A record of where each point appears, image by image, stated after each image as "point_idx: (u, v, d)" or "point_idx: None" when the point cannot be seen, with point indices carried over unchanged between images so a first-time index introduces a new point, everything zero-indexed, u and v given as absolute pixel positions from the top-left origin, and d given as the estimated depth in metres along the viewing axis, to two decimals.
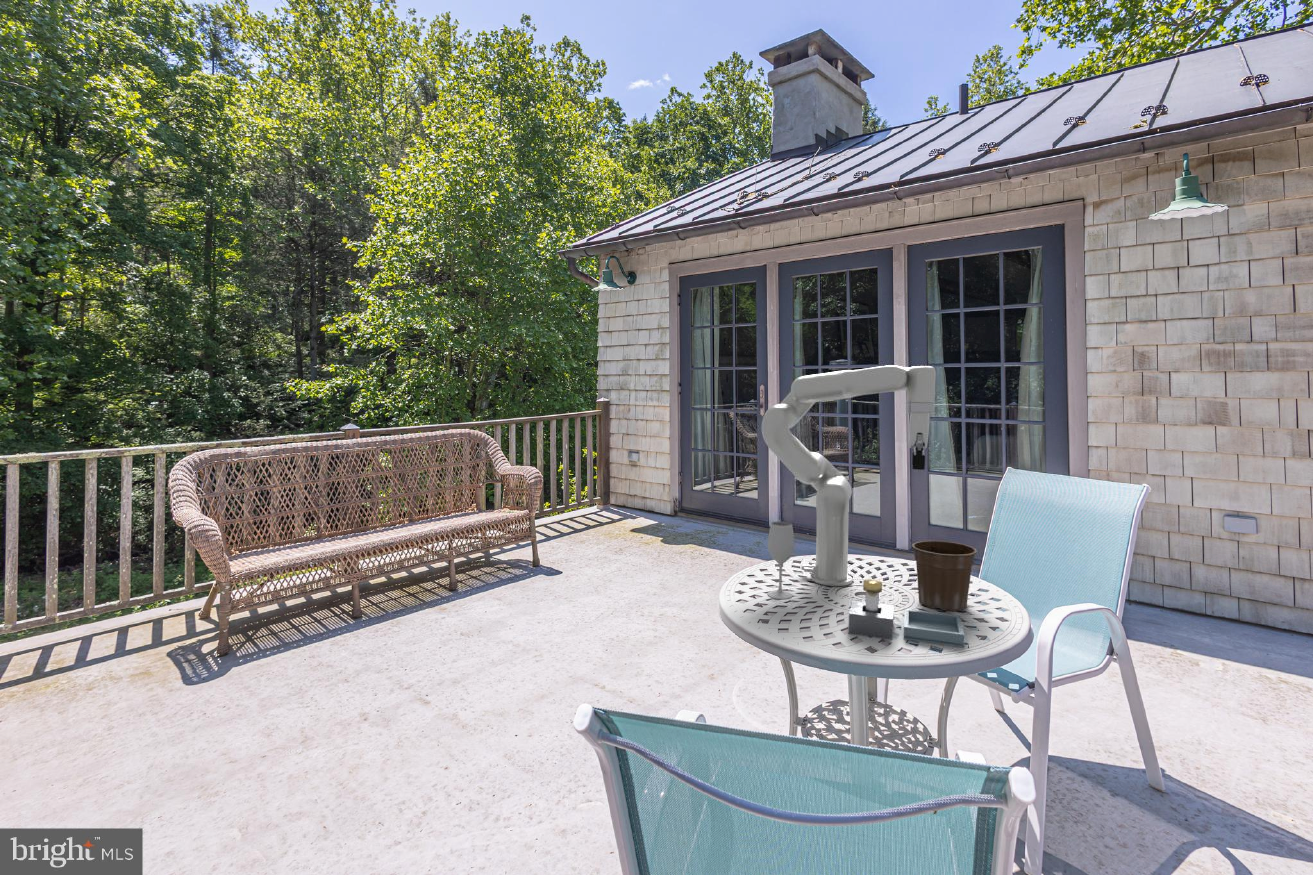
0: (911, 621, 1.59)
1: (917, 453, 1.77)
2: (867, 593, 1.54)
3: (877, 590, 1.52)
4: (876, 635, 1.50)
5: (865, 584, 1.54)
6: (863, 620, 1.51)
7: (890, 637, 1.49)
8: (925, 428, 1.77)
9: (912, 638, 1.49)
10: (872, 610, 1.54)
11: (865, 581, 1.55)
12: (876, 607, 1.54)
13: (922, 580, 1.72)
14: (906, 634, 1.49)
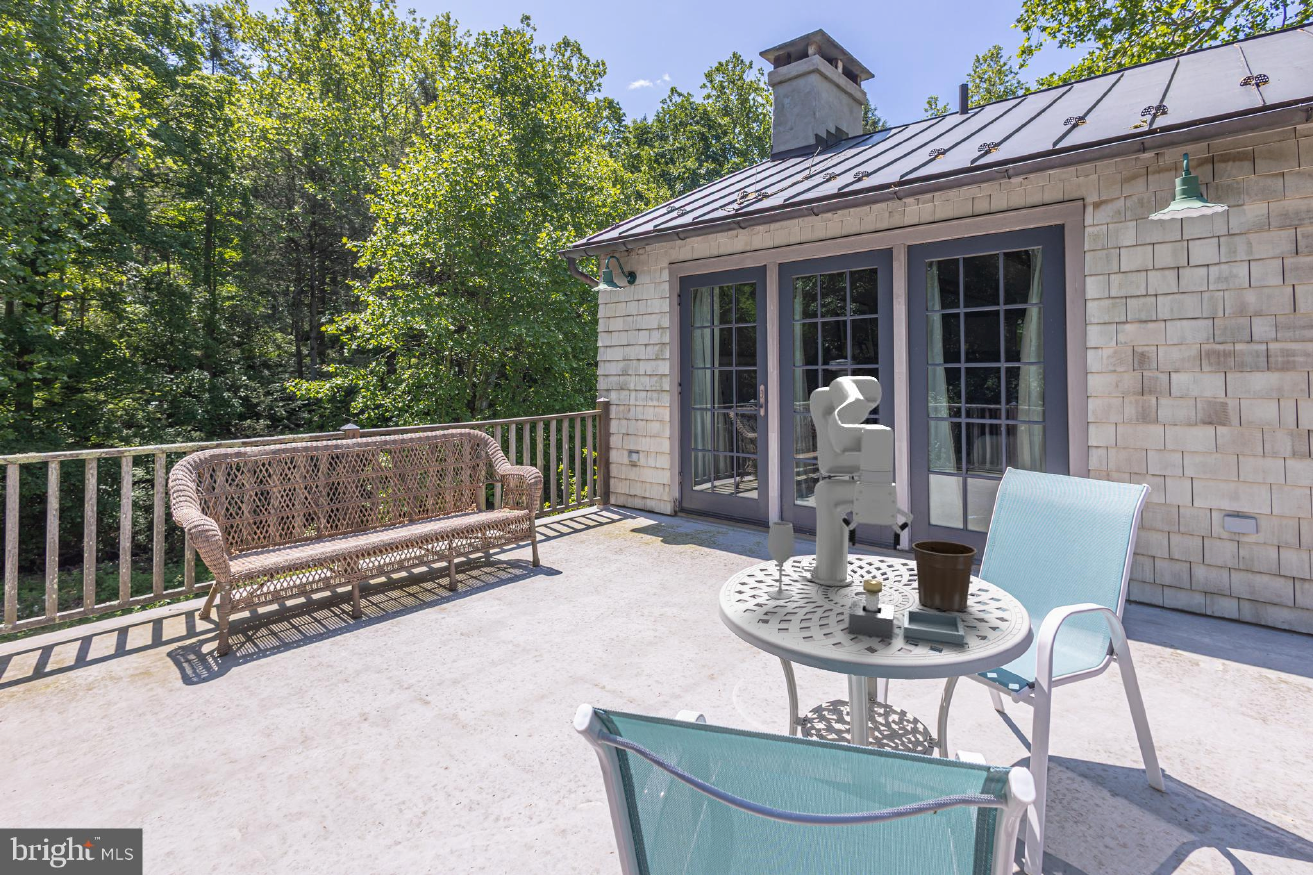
0: (911, 621, 1.59)
1: None
2: (867, 593, 1.54)
3: (877, 590, 1.52)
4: (876, 635, 1.50)
5: (865, 584, 1.54)
6: (863, 620, 1.51)
7: (890, 637, 1.49)
8: None
9: (912, 638, 1.49)
10: (872, 610, 1.54)
11: (865, 581, 1.55)
12: (876, 607, 1.54)
13: (922, 580, 1.72)
14: (906, 634, 1.49)
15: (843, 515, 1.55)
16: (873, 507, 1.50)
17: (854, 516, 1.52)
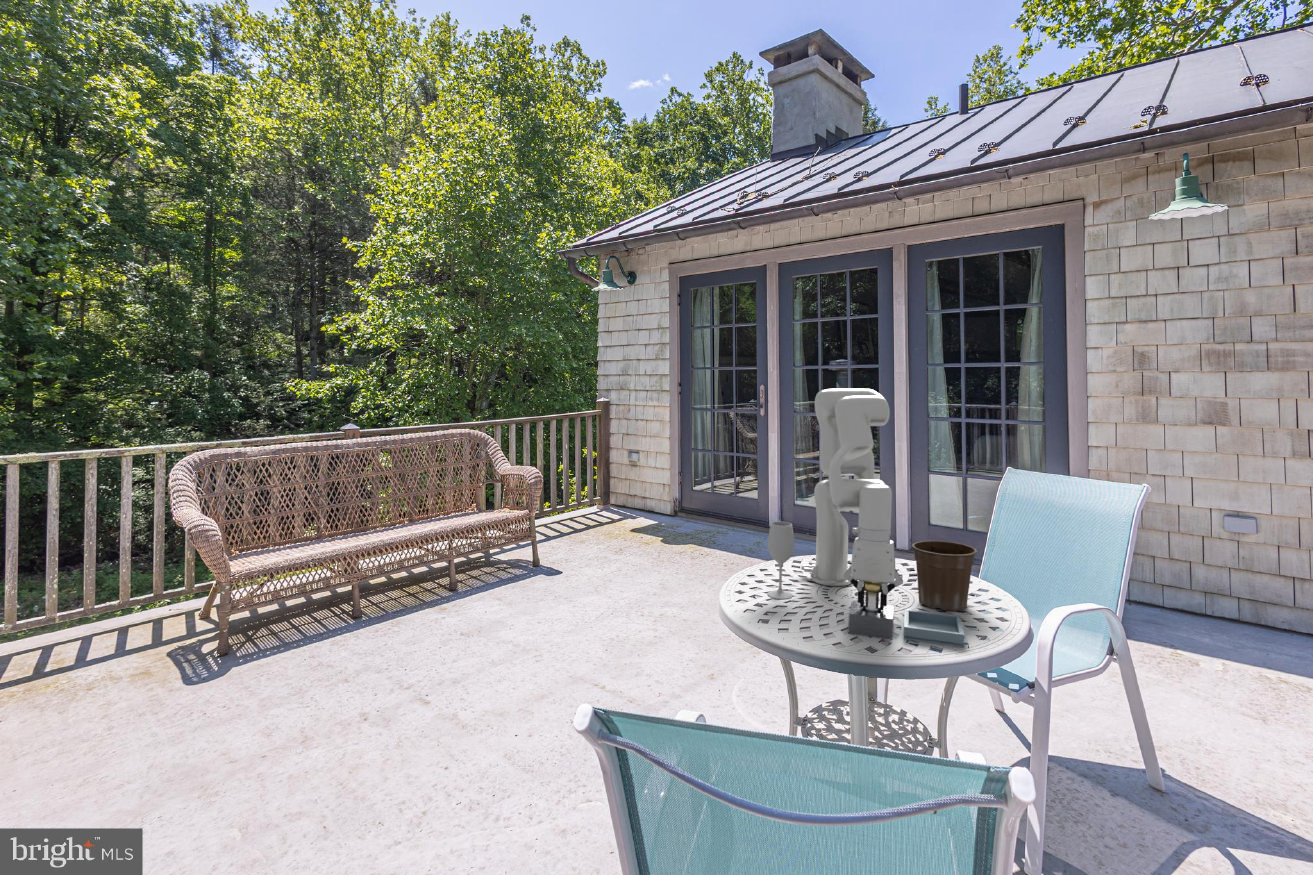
0: (911, 621, 1.59)
1: None
2: (867, 593, 1.54)
3: (877, 590, 1.52)
4: (876, 635, 1.50)
5: (865, 584, 1.54)
6: (863, 620, 1.51)
7: (890, 637, 1.49)
8: None
9: (912, 638, 1.49)
10: (872, 610, 1.54)
11: (865, 581, 1.55)
12: (876, 607, 1.54)
13: (922, 580, 1.72)
14: (906, 634, 1.49)
15: (849, 577, 1.56)
16: (871, 565, 1.51)
17: (852, 573, 1.54)
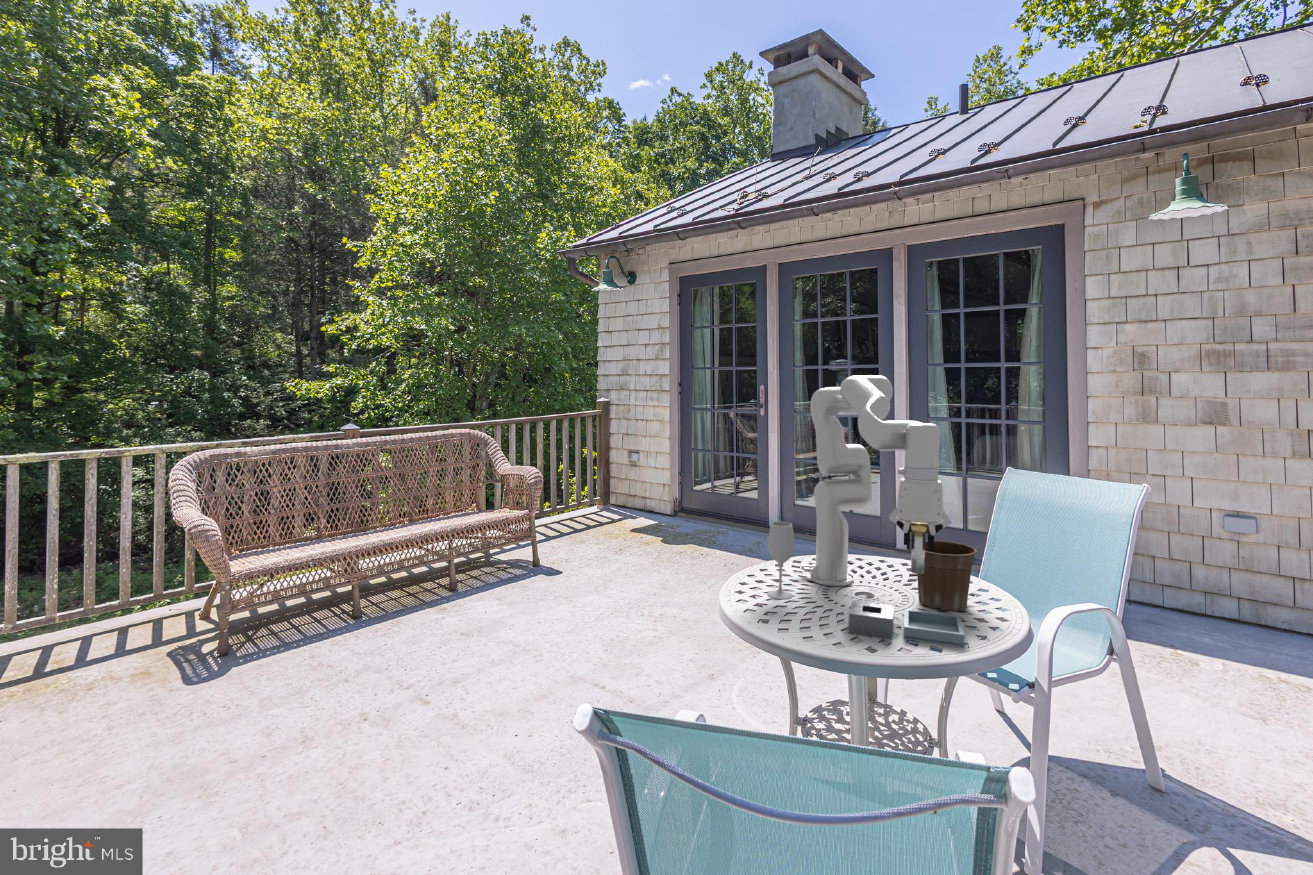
0: (911, 621, 1.59)
1: None
2: (913, 535, 1.51)
3: (924, 531, 1.49)
4: (876, 635, 1.50)
5: (911, 525, 1.51)
6: (863, 620, 1.51)
7: (890, 637, 1.49)
8: None
9: (912, 638, 1.49)
10: (918, 551, 1.50)
11: (911, 523, 1.52)
12: (923, 548, 1.51)
13: (922, 580, 1.72)
14: (906, 634, 1.49)
15: (895, 519, 1.53)
16: (919, 505, 1.49)
17: (898, 513, 1.51)
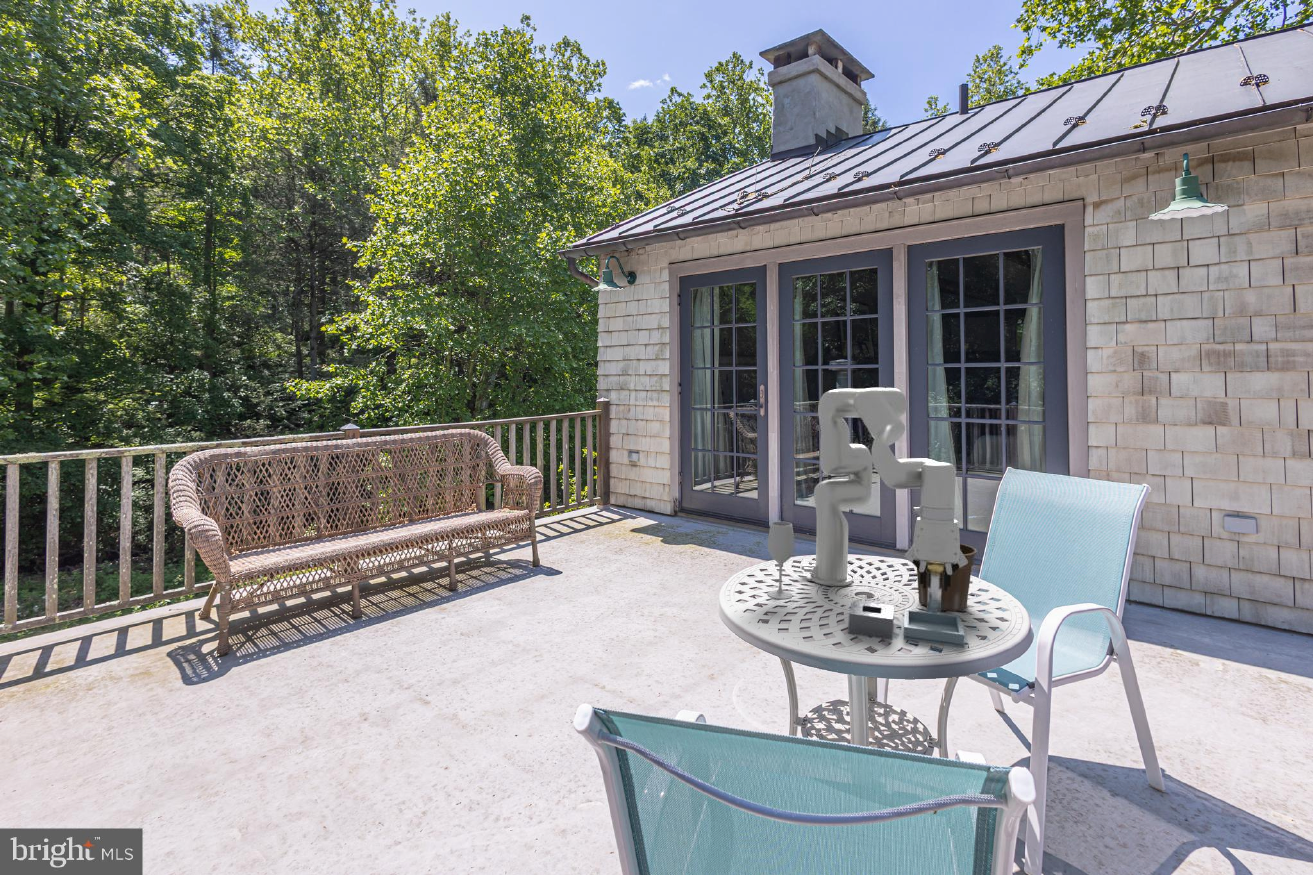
0: (911, 621, 1.59)
1: None
2: (930, 574, 1.51)
3: (941, 570, 1.49)
4: (876, 635, 1.50)
5: (928, 564, 1.51)
6: (863, 620, 1.51)
7: (890, 637, 1.49)
8: None
9: (912, 638, 1.49)
10: (935, 591, 1.50)
11: (928, 562, 1.52)
12: (940, 588, 1.50)
13: None
14: (906, 634, 1.49)
15: (911, 558, 1.53)
16: (935, 544, 1.48)
17: (915, 553, 1.51)
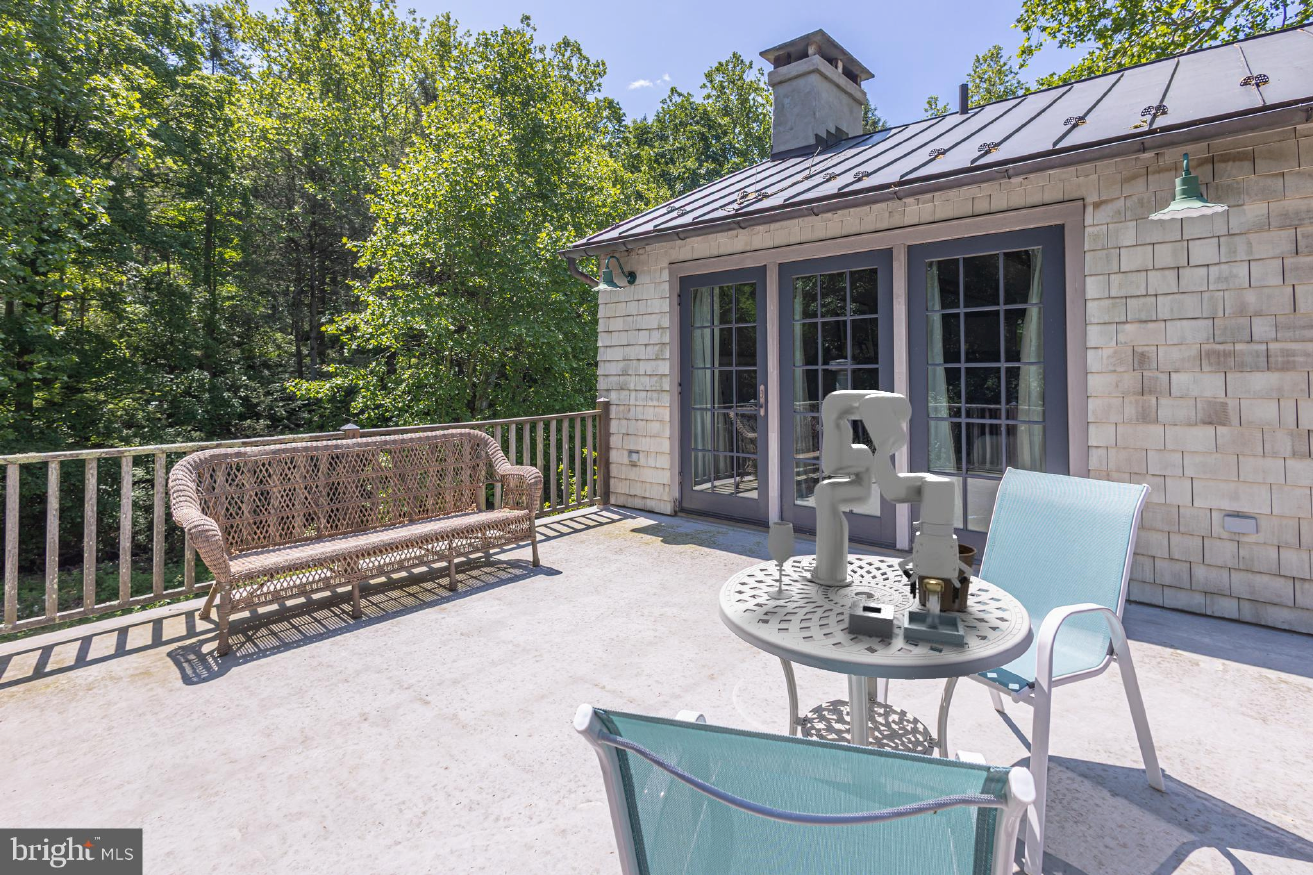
0: (911, 621, 1.59)
1: None
2: (928, 593, 1.52)
3: (939, 590, 1.50)
4: (876, 635, 1.50)
5: (926, 584, 1.51)
6: (863, 620, 1.51)
7: (890, 637, 1.49)
8: None
9: (912, 638, 1.49)
10: (933, 610, 1.51)
11: (926, 581, 1.52)
12: (938, 607, 1.51)
13: (922, 580, 1.72)
14: (906, 634, 1.49)
15: (903, 567, 1.54)
16: (934, 560, 1.49)
17: (914, 568, 1.51)
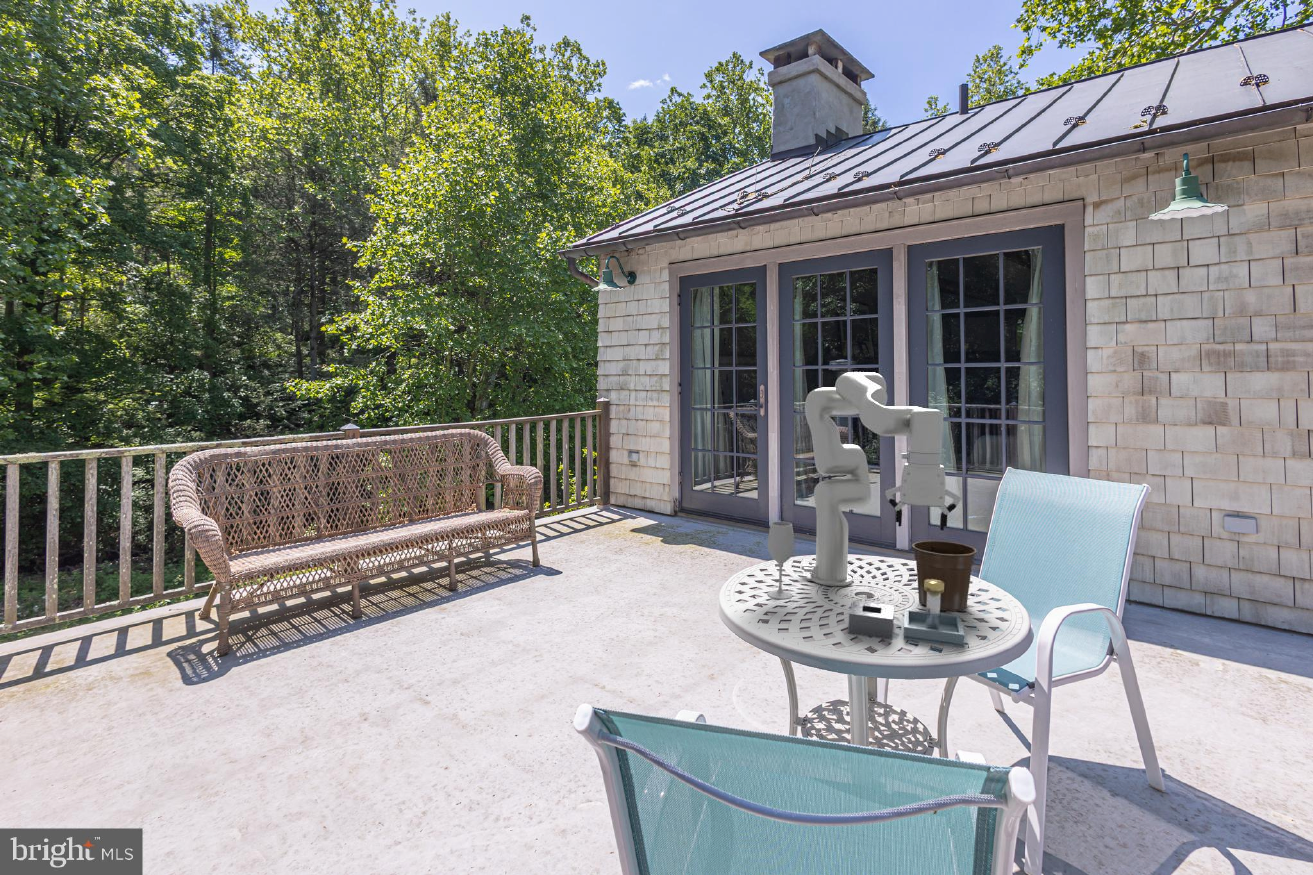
0: (911, 621, 1.59)
1: (950, 511, 1.52)
2: (928, 593, 1.52)
3: (939, 590, 1.50)
4: (876, 635, 1.50)
5: (927, 584, 1.51)
6: (863, 620, 1.51)
7: (890, 637, 1.49)
8: None
9: (912, 638, 1.49)
10: (934, 610, 1.51)
11: (926, 581, 1.52)
12: (938, 607, 1.51)
13: (922, 580, 1.72)
14: (906, 634, 1.49)
15: (890, 496, 1.57)
16: (922, 489, 1.52)
17: (902, 497, 1.54)
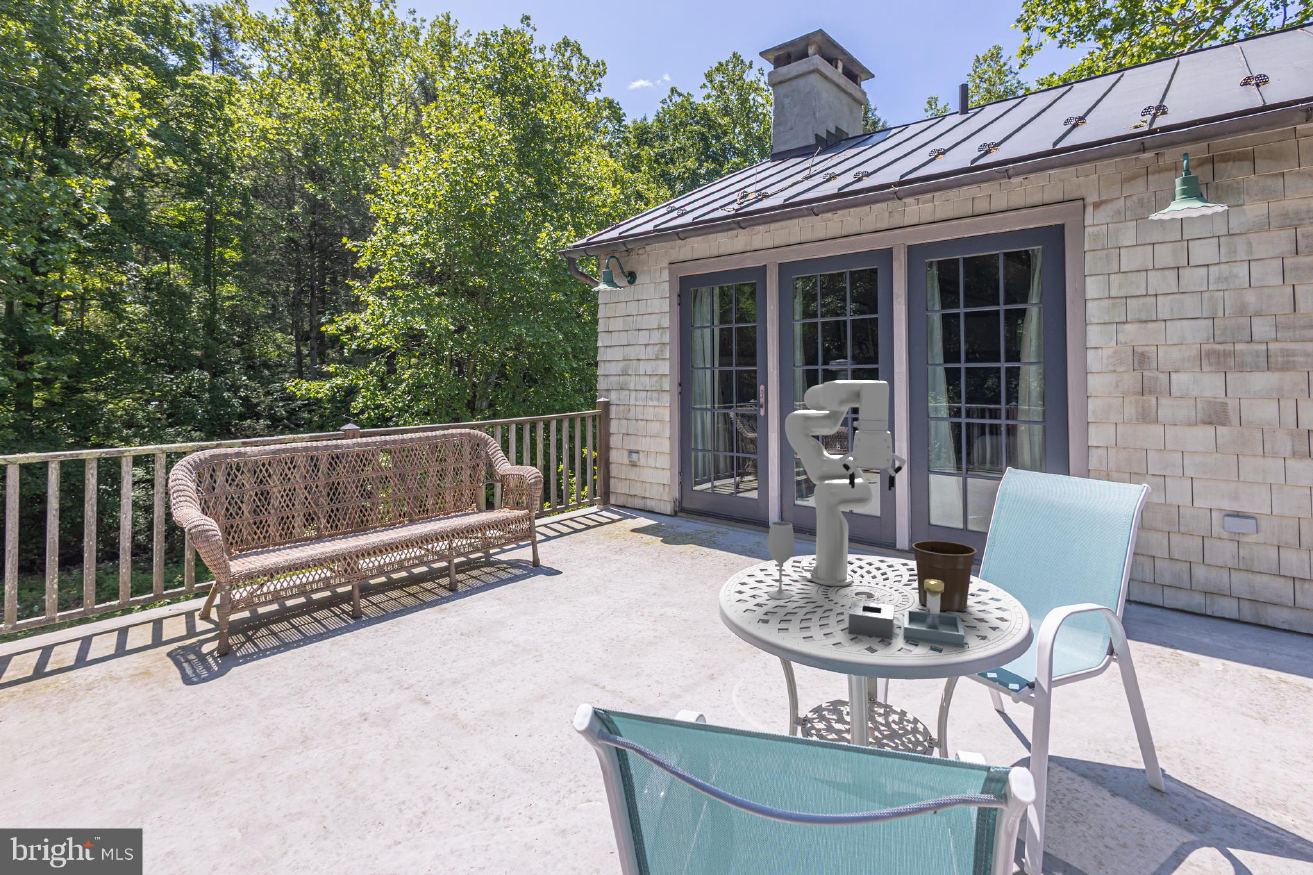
0: (911, 621, 1.59)
1: None
2: (928, 593, 1.52)
3: (939, 590, 1.50)
4: (876, 635, 1.50)
5: (927, 584, 1.51)
6: (863, 620, 1.51)
7: (890, 637, 1.49)
8: None
9: (912, 638, 1.49)
10: (934, 610, 1.51)
11: (926, 581, 1.52)
12: (938, 607, 1.51)
13: (922, 580, 1.72)
14: (906, 634, 1.49)
15: (843, 461, 1.73)
16: (871, 453, 1.68)
17: (853, 461, 1.70)
